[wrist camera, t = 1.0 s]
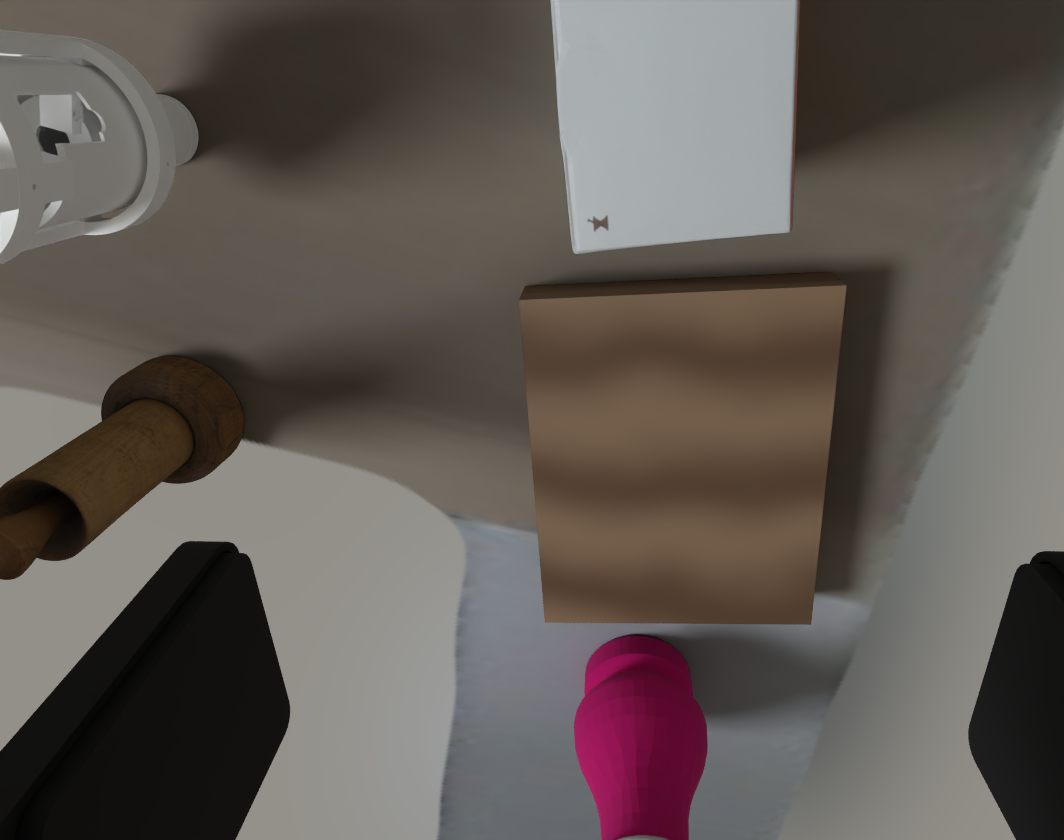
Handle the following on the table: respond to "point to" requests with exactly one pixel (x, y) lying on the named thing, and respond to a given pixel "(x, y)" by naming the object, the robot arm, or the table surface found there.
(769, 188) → the small box
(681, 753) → the pepper mill
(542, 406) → the walnut board
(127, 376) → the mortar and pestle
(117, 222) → the white slotted cylindrical holder
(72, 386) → the table surface
